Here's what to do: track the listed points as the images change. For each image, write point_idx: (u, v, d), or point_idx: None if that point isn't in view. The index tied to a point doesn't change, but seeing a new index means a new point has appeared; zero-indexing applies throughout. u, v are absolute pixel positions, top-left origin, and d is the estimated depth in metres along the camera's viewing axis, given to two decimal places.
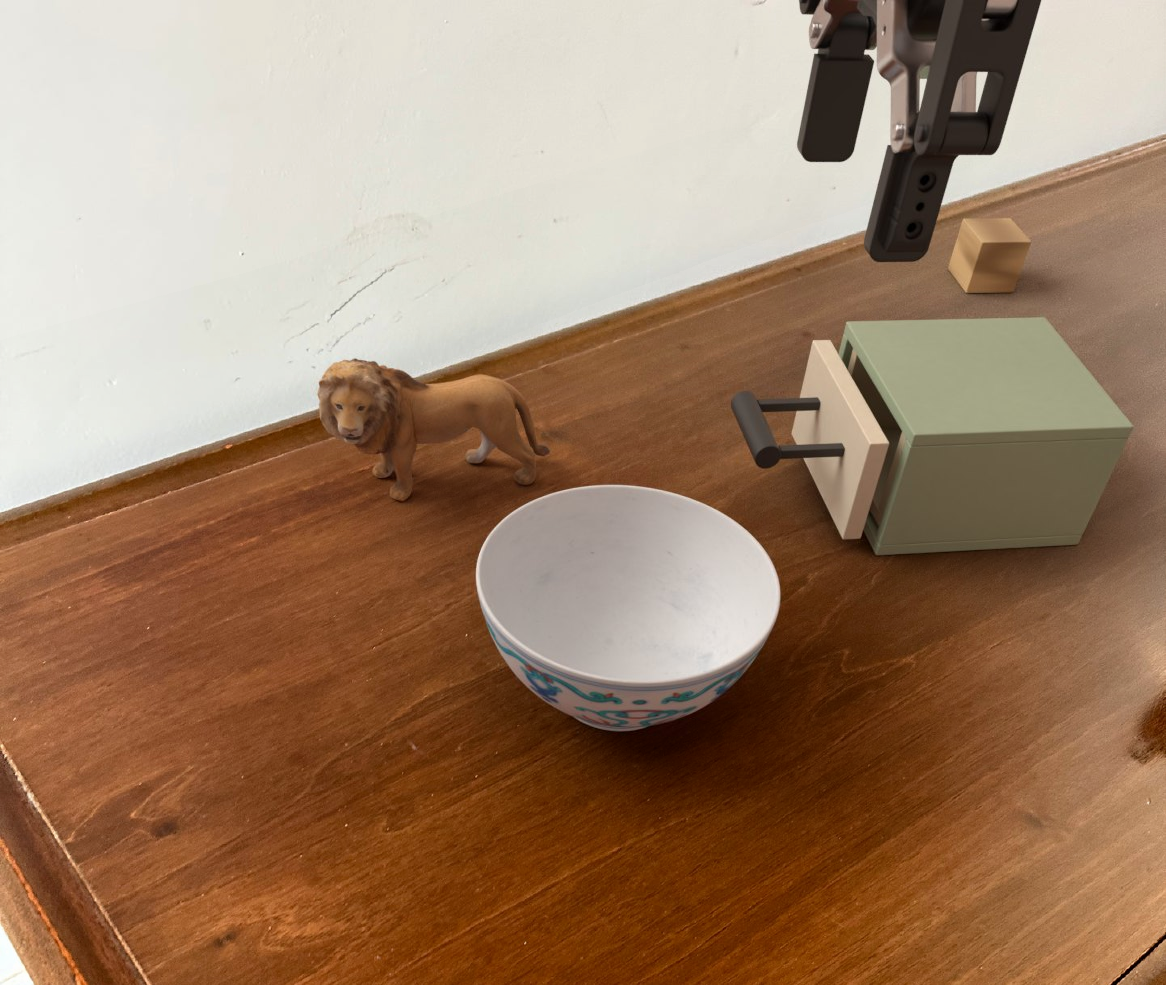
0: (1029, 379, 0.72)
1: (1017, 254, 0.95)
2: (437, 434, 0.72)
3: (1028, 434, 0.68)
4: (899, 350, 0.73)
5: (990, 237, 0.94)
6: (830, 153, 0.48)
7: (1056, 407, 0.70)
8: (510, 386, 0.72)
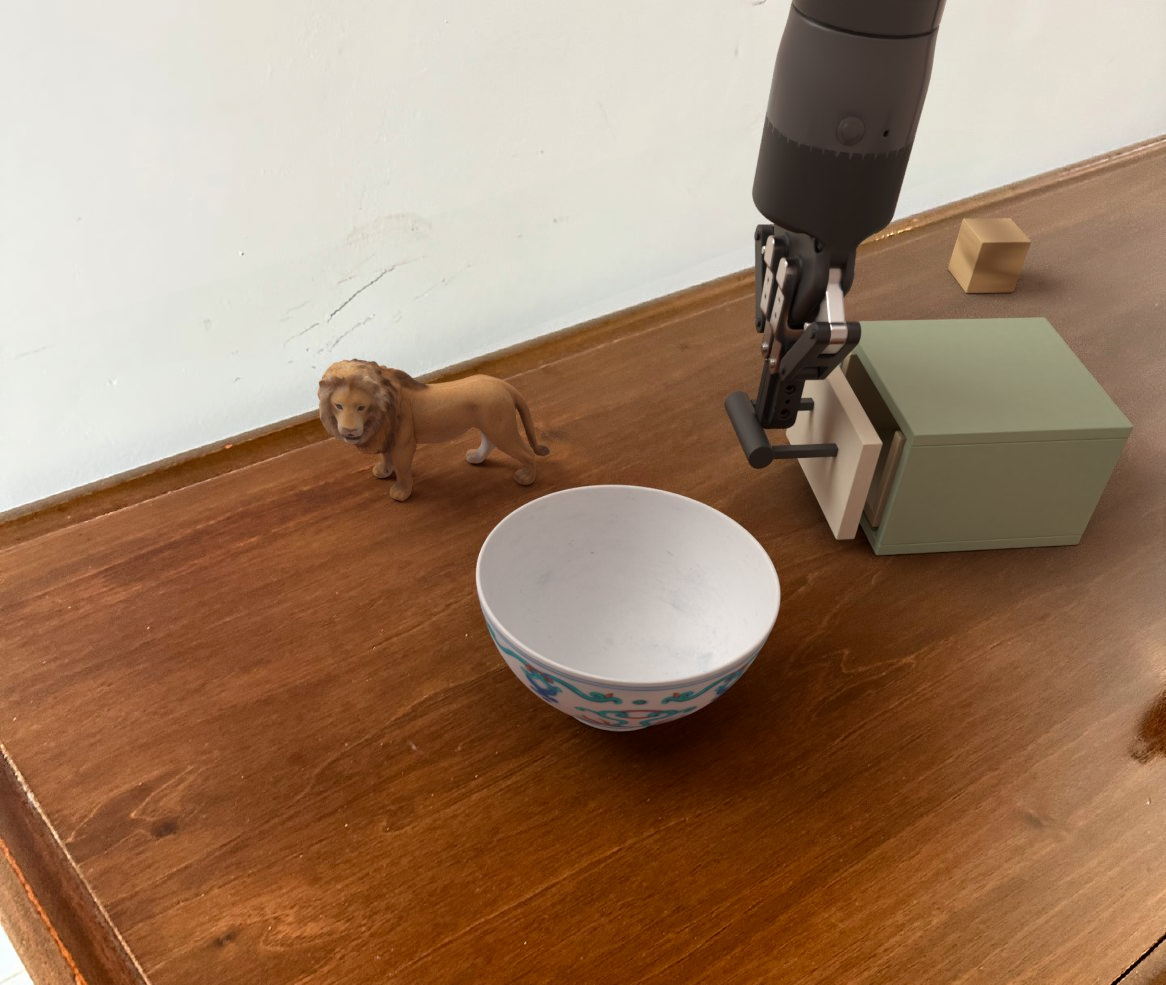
0: (1029, 379, 0.72)
1: (1017, 254, 0.95)
2: (437, 434, 0.72)
3: (1028, 434, 0.68)
4: (899, 350, 0.73)
5: (990, 237, 0.94)
6: None
7: (1056, 407, 0.70)
8: (510, 386, 0.72)
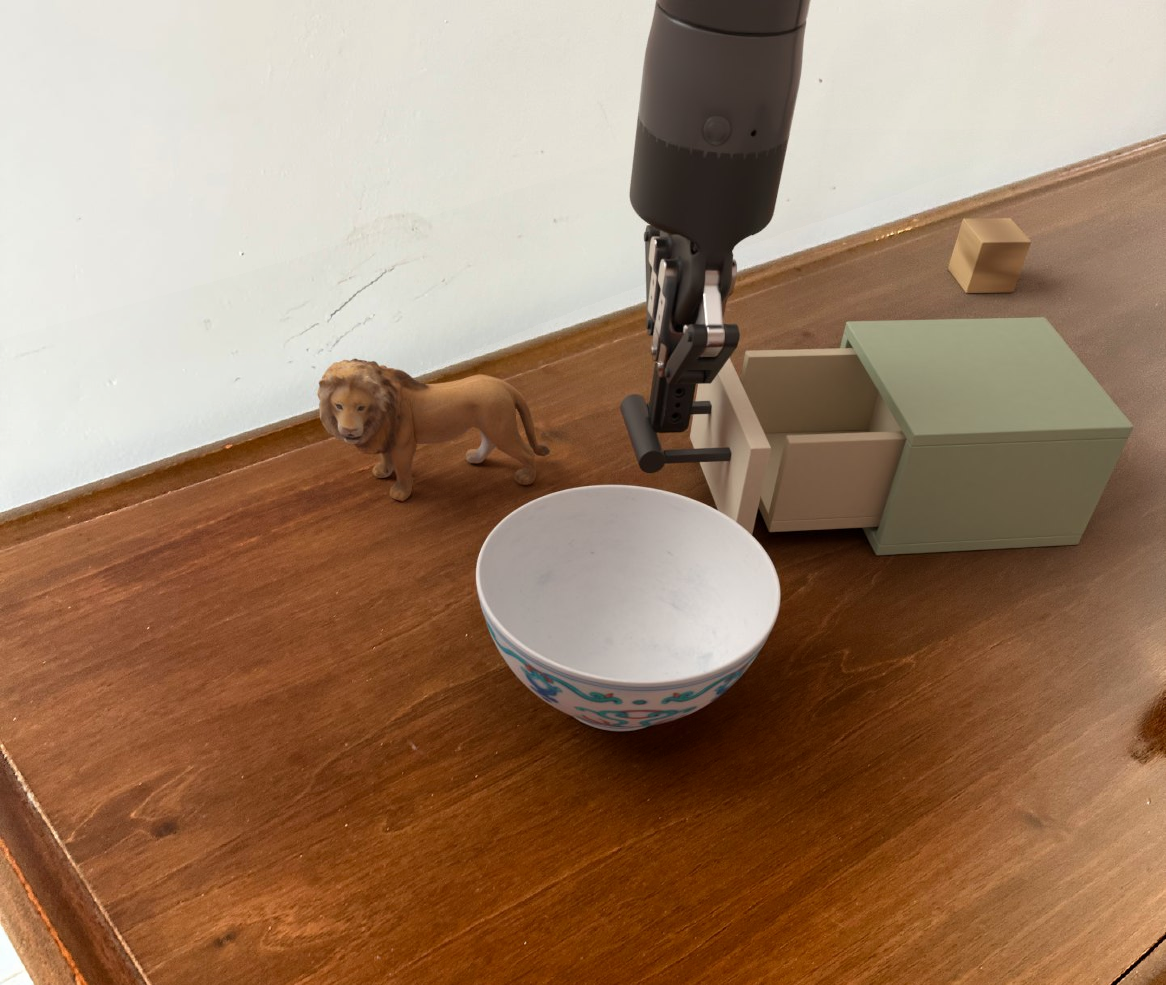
0: (1029, 379, 0.72)
1: (1017, 254, 0.95)
2: (437, 434, 0.72)
3: (1028, 434, 0.68)
4: (899, 350, 0.73)
5: (990, 237, 0.94)
6: None
7: (1056, 407, 0.70)
8: (510, 386, 0.72)
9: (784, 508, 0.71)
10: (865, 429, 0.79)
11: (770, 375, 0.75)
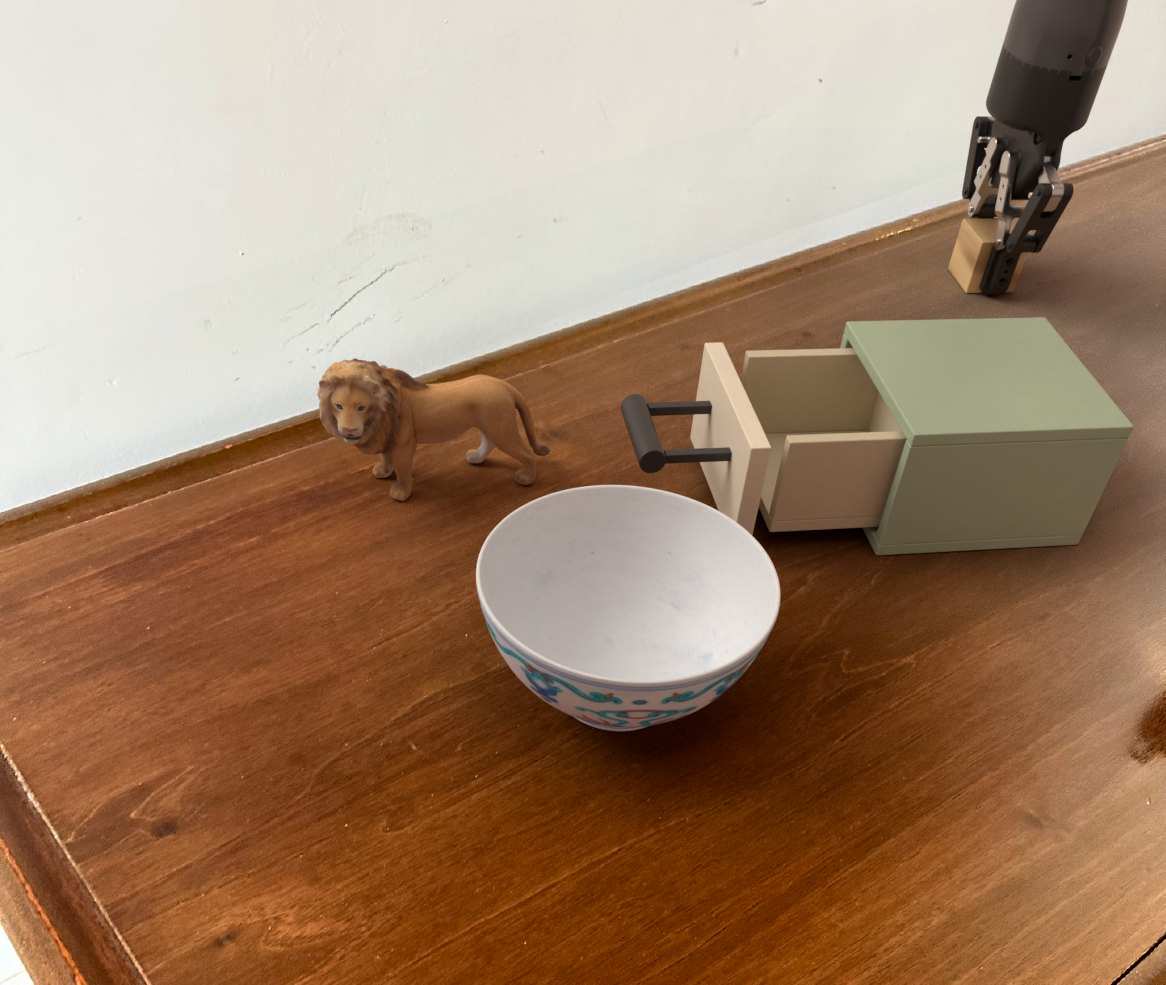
0: (1029, 379, 0.72)
1: None
2: (437, 434, 0.72)
3: (1028, 434, 0.68)
4: (899, 350, 0.73)
5: (990, 237, 0.94)
6: None
7: (1056, 407, 0.70)
8: (510, 386, 0.72)
9: (784, 508, 0.71)
10: (866, 429, 0.79)
11: (770, 375, 0.75)
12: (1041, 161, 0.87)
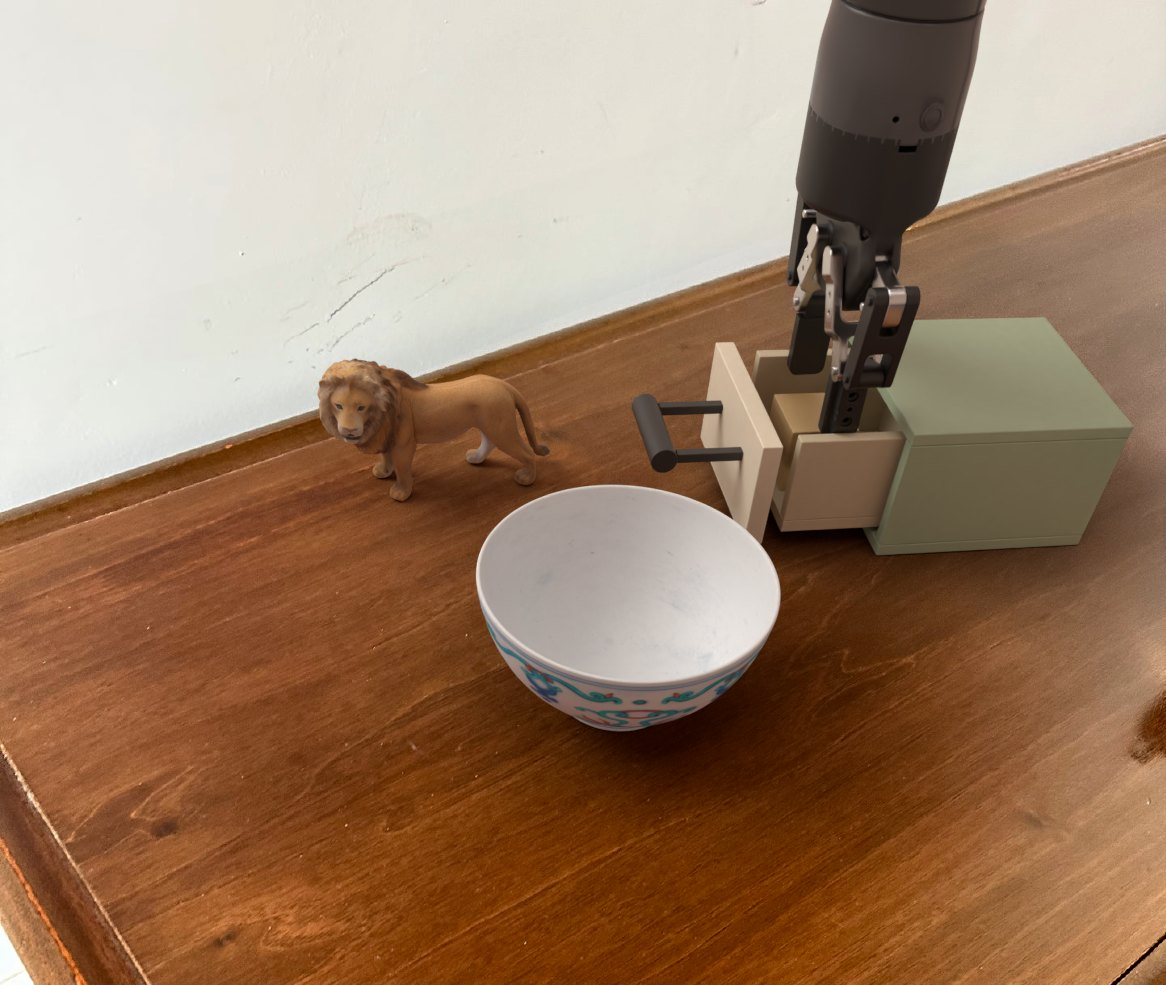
0: (1029, 379, 0.72)
1: None
2: (437, 434, 0.72)
3: (1028, 434, 0.68)
4: None
5: (805, 423, 0.71)
6: None
7: (1056, 407, 0.70)
8: (510, 386, 0.72)
9: (796, 507, 0.71)
10: (876, 428, 0.79)
11: (781, 375, 0.75)
12: (871, 259, 0.61)
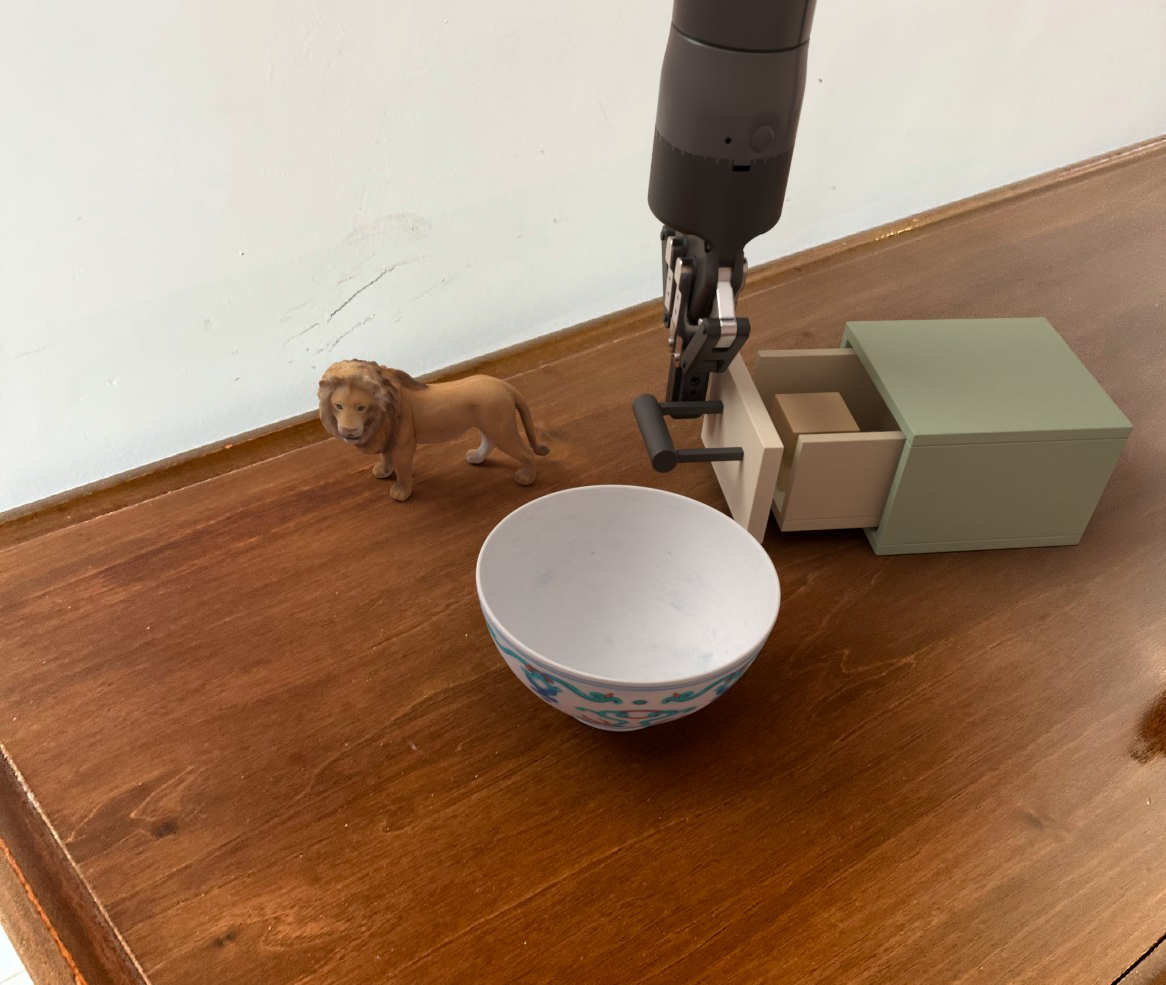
0: (1029, 379, 0.72)
1: None
2: (437, 434, 0.72)
3: (1028, 434, 0.68)
4: (899, 350, 0.73)
5: (806, 423, 0.71)
6: None
7: (1056, 407, 0.70)
8: (510, 386, 0.72)
9: (796, 507, 0.71)
10: (876, 428, 0.79)
11: (781, 374, 0.75)
12: (714, 283, 0.65)
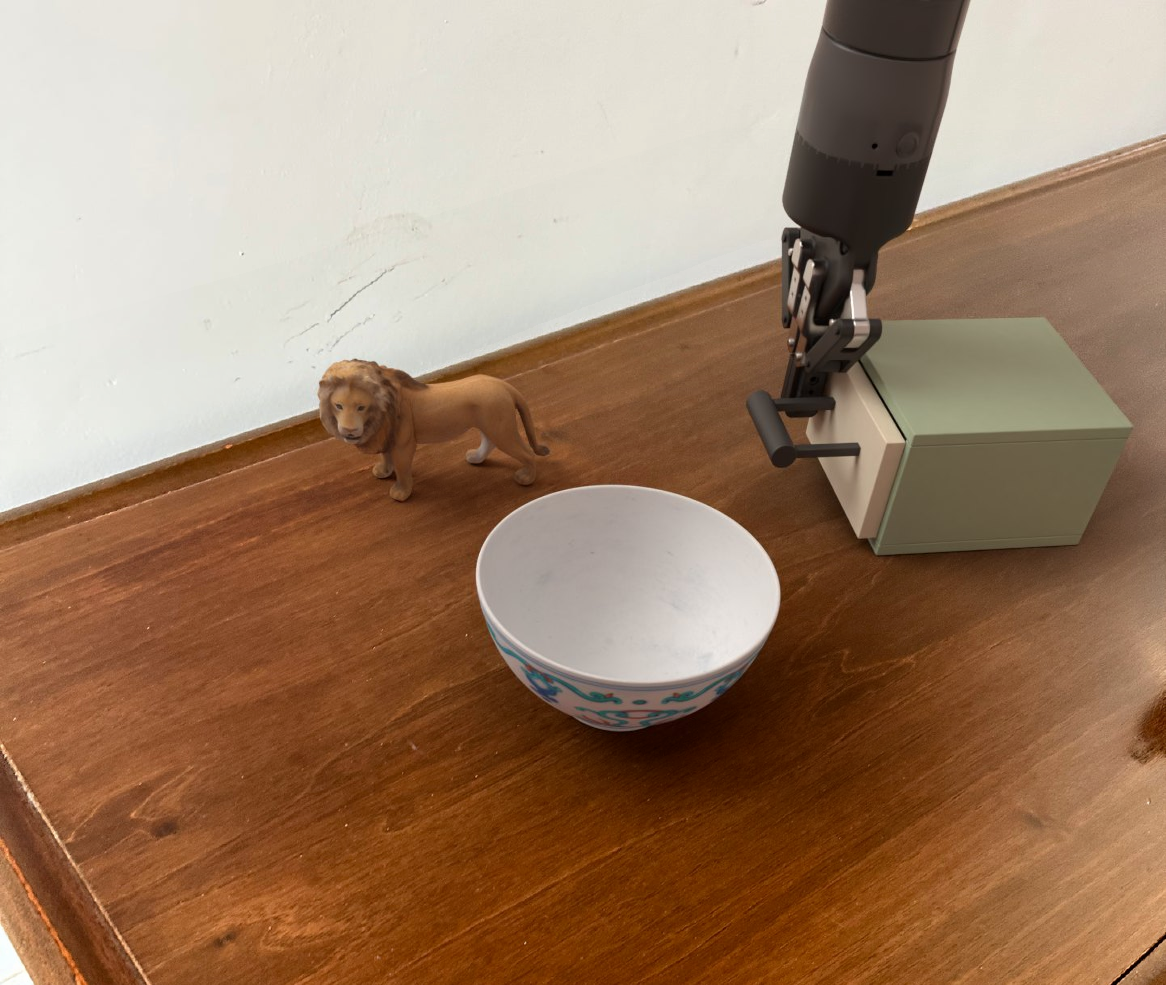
0: (1029, 379, 0.72)
1: None
2: (437, 434, 0.72)
3: (1028, 434, 0.68)
4: (899, 350, 0.73)
5: None
6: None
7: (1056, 407, 0.70)
8: (510, 386, 0.72)
9: None
10: None
11: None
12: (848, 284, 0.67)
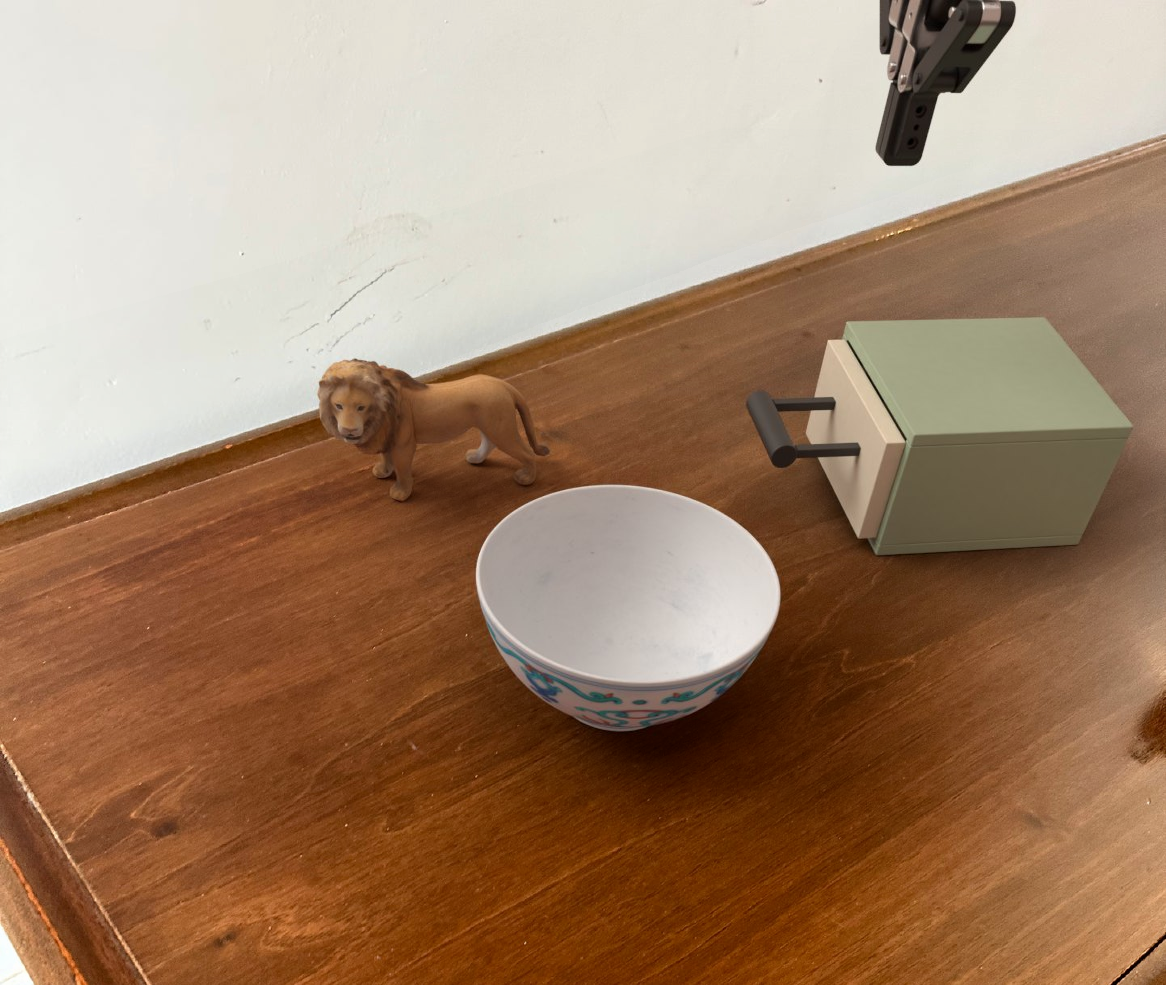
0: (1029, 379, 0.72)
1: None
2: (437, 434, 0.72)
3: (1028, 434, 0.68)
4: (899, 350, 0.73)
5: None
6: None
7: (1056, 407, 0.70)
8: (510, 386, 0.72)
9: None
10: None
11: None
12: None
